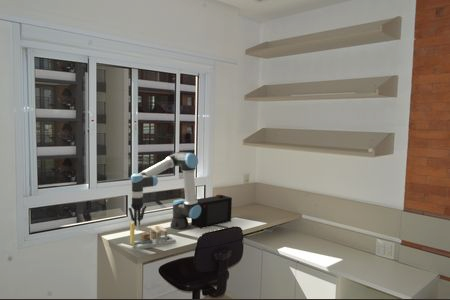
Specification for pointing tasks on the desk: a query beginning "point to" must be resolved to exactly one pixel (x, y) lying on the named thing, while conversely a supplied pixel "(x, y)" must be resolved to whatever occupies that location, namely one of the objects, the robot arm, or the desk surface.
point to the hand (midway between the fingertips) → (136, 229)
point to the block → (145, 236)
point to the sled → (133, 236)
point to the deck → (160, 242)
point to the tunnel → (157, 232)
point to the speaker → (213, 211)
